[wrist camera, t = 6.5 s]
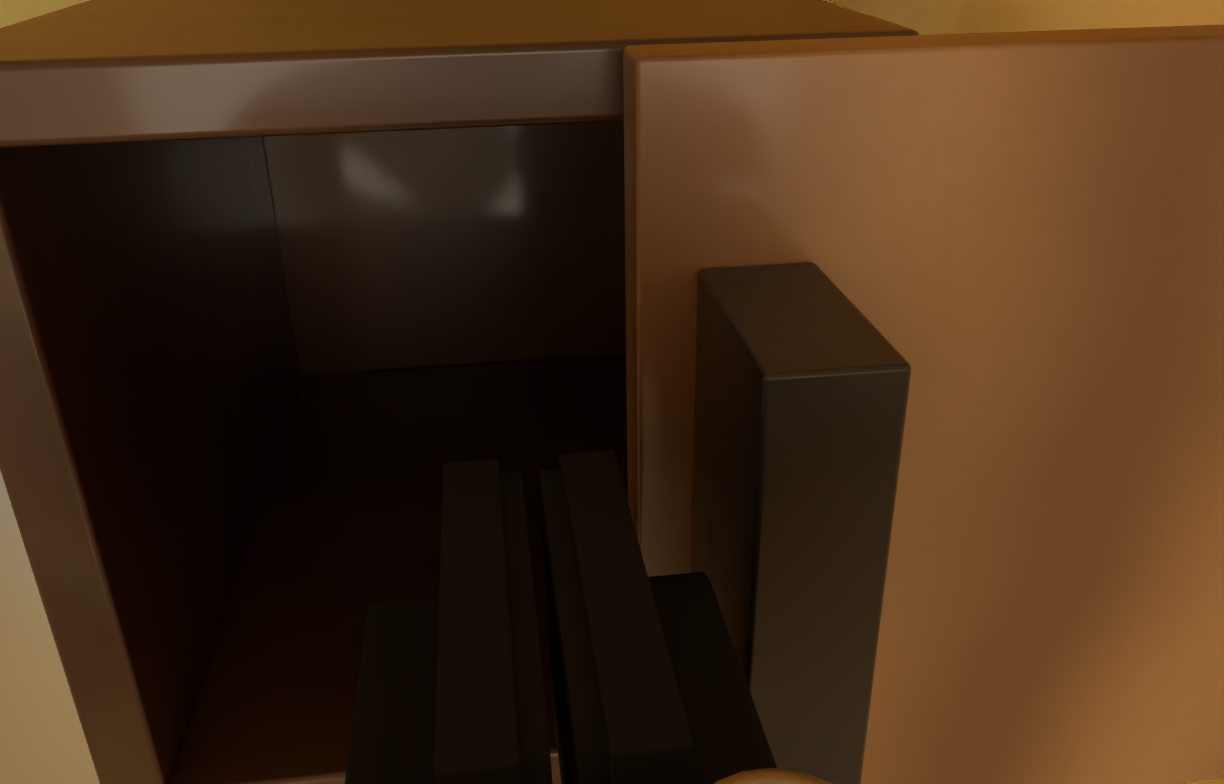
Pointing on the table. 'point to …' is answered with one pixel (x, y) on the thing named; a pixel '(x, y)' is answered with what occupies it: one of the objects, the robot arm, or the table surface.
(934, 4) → the table surface
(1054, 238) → the wooden lid
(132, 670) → the chest
